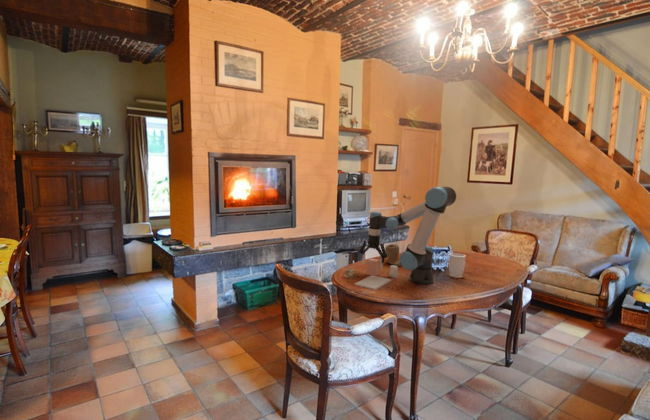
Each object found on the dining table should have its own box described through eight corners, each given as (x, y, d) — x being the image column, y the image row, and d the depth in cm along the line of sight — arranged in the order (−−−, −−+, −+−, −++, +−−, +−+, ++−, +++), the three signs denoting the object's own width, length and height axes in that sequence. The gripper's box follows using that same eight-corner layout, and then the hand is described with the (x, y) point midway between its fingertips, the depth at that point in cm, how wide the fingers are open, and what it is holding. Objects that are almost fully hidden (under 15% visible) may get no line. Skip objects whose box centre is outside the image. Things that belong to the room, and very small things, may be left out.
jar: (464, 275, 250) (466, 254, 248) (463, 279, 241) (465, 257, 239) (448, 273, 254) (450, 252, 252) (446, 276, 245) (448, 255, 243)
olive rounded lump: (354, 276, 239) (355, 269, 239) (350, 278, 235) (351, 271, 234) (348, 275, 242) (348, 268, 241) (344, 277, 238) (344, 269, 237)
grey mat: (391, 281, 233) (391, 279, 232) (375, 290, 215) (375, 288, 215) (371, 276, 241) (371, 275, 240) (354, 285, 223) (354, 283, 222)
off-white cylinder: (398, 276, 243) (398, 266, 242) (395, 278, 239) (395, 267, 238) (391, 274, 246) (391, 264, 245) (388, 276, 242) (388, 266, 241)
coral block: (378, 274, 246) (379, 259, 245) (374, 276, 242) (375, 261, 240) (370, 272, 250) (371, 258, 249) (366, 274, 245) (367, 260, 244)
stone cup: (381, 263, 275) (382, 243, 273) (392, 261, 282) (393, 242, 280) (395, 268, 263) (396, 247, 261) (407, 266, 269) (408, 246, 267)
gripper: (393, 236, 238) (391, 268, 241) (360, 231, 252) (358, 260, 255) (389, 238, 232) (386, 270, 235) (355, 232, 246) (353, 262, 249)
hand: (372, 265), depth 245 cm, fingers open, 13 cm apart
